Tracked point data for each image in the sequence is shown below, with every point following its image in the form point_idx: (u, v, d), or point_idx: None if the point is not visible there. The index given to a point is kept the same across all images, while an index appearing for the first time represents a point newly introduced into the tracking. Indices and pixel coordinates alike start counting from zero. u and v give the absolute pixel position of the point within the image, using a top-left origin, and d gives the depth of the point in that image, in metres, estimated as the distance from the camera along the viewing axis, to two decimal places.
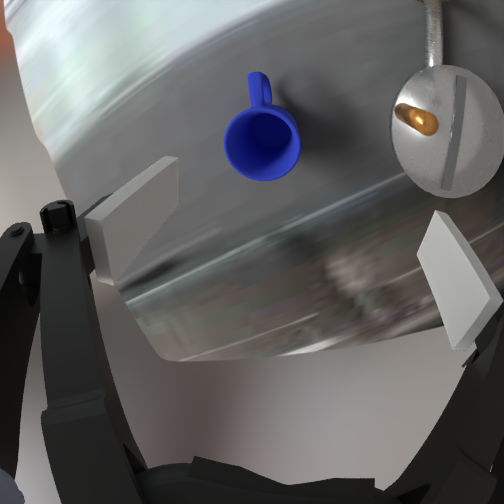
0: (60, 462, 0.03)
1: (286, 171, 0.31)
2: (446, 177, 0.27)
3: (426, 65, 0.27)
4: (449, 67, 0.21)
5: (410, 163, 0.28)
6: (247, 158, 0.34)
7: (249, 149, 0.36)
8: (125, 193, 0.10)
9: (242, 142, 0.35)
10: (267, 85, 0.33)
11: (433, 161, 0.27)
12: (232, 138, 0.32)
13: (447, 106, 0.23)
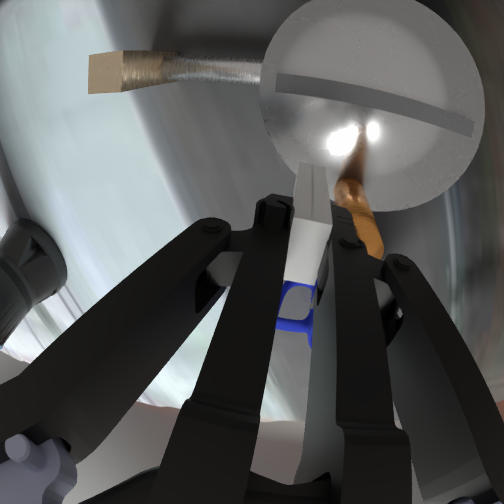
0: (178, 456, 0.03)
1: None
2: (454, 127, 0.14)
3: None
4: (264, 104, 0.17)
5: (427, 187, 0.17)
6: None
7: None
8: (306, 196, 0.12)
9: None
10: (292, 282, 0.34)
11: (427, 148, 0.16)
12: None
13: (335, 113, 0.16)
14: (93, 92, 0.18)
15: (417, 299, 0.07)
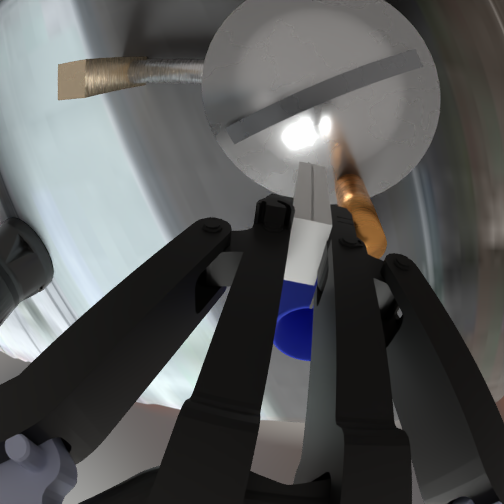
0: (178, 456, 0.03)
1: None
2: (401, 69, 0.13)
3: None
4: (234, 158, 0.19)
5: (416, 139, 0.16)
6: None
7: None
8: (306, 196, 0.12)
9: None
10: None
11: (392, 104, 0.15)
12: (300, 347, 0.30)
13: (293, 129, 0.17)
14: (62, 98, 0.18)
15: (417, 299, 0.07)
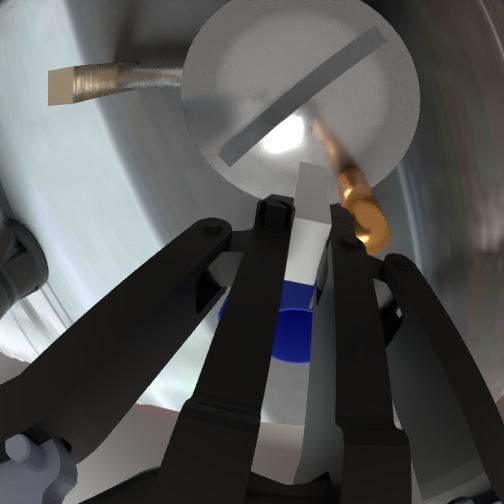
0: (179, 457, 0.03)
1: None
2: (367, 50, 0.13)
3: None
4: (234, 180, 0.20)
5: (403, 116, 0.15)
6: None
7: (311, 320, 0.33)
8: (307, 196, 0.12)
9: (299, 327, 0.33)
10: None
11: (369, 88, 0.15)
12: (285, 349, 0.31)
13: (281, 139, 0.18)
14: (52, 104, 0.19)
15: (416, 299, 0.07)
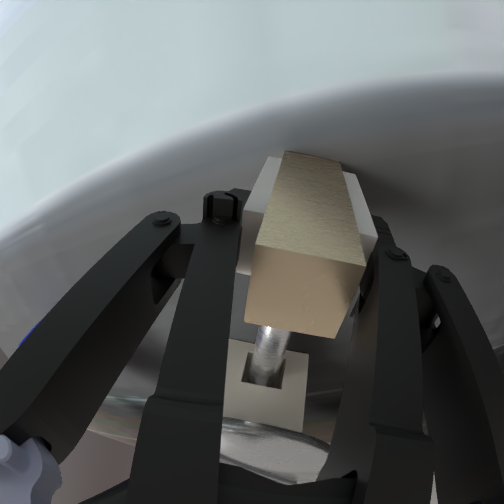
0: (148, 453, 0.03)
1: None
2: None
3: (256, 341, 0.22)
4: None
5: None
6: None
7: None
8: (265, 189, 0.12)
9: None
10: None
11: None
12: None
13: None
14: (255, 261, 0.09)
15: (455, 309, 0.07)
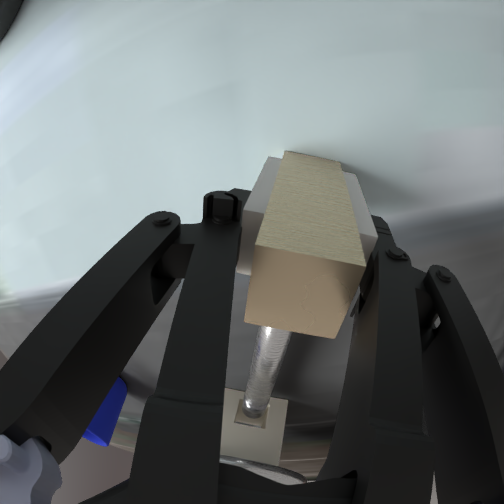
0: (148, 453, 0.03)
1: (103, 445, 0.31)
2: None
3: (256, 341, 0.22)
4: None
5: None
6: None
7: None
8: (265, 189, 0.12)
9: None
10: None
11: None
12: None
13: None
14: (255, 261, 0.09)
15: (455, 308, 0.07)
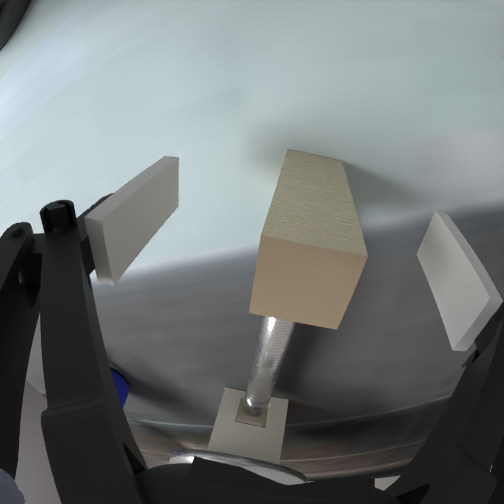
0: (60, 462, 0.03)
1: None
2: None
3: (258, 337, 0.22)
4: (175, 460, 0.24)
5: None
6: None
7: None
8: (125, 193, 0.10)
9: None
10: None
11: None
12: None
13: None
14: (261, 251, 0.09)
15: None
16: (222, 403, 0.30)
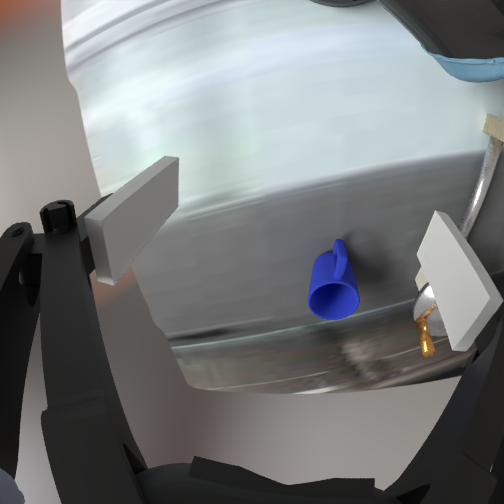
0: (60, 462, 0.03)
1: (344, 317, 0.47)
2: None
3: (474, 192, 0.38)
4: None
5: (437, 332, 0.45)
6: (317, 298, 0.49)
7: None
8: (125, 193, 0.10)
9: None
10: None
11: None
12: None
13: None
14: None
15: None
16: None
